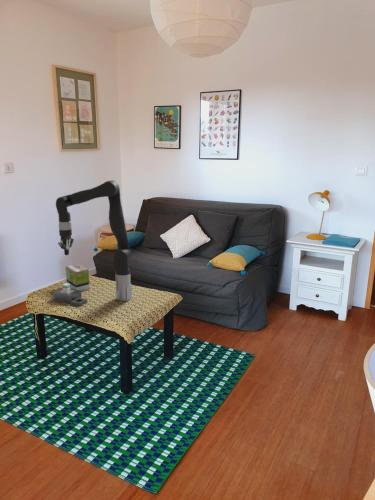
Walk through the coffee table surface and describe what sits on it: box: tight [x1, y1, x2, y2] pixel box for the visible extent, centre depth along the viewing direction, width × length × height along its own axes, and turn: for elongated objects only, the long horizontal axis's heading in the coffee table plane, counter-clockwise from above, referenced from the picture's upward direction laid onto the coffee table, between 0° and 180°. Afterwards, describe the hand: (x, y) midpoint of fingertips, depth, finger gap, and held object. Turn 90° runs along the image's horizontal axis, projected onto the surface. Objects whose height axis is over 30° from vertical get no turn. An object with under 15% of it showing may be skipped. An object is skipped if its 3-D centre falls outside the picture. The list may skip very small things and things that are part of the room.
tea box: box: [65, 263, 90, 292], centre depth 264 cm, size 15×10×15 cm
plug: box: [61, 282, 71, 293], centre depth 245 cm, size 3×3×9 cm
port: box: [52, 287, 83, 304], centre depth 246 cm, size 14×10×5 cm
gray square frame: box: [70, 297, 88, 307], centre depth 240 cm, size 7×7×2 cm
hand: (66, 254), depth 247 cm, fingers closed
